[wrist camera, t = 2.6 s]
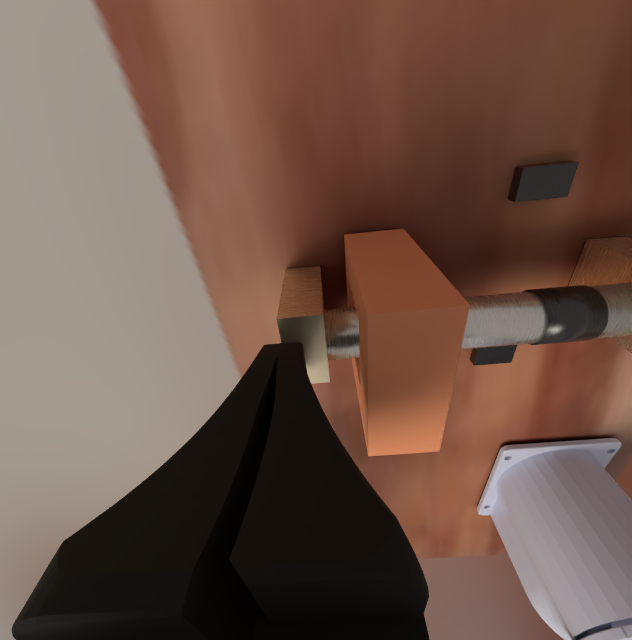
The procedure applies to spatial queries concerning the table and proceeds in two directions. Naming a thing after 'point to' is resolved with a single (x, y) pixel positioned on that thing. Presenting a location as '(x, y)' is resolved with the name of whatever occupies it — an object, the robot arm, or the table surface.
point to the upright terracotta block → (402, 341)
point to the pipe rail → (487, 298)
